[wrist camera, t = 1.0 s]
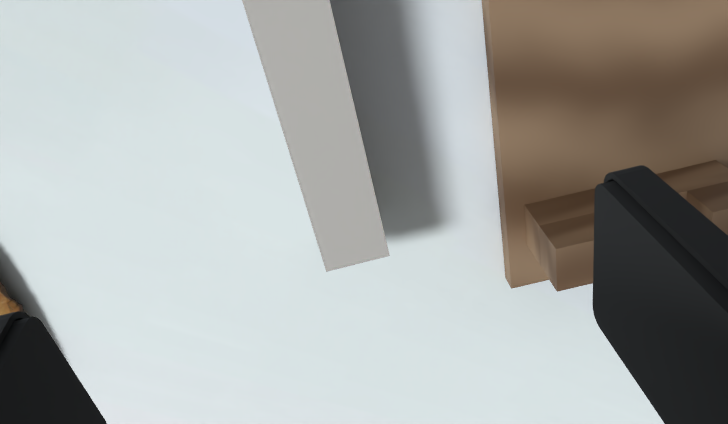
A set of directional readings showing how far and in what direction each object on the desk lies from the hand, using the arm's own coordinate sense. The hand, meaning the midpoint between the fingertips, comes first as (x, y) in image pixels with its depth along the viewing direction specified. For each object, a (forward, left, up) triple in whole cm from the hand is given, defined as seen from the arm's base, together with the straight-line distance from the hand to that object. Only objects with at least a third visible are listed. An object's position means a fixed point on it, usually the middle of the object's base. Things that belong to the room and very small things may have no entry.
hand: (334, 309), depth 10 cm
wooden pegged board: (+5, +14, -18) cm, 23 cm away
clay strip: (0, 0, -19) cm, 19 cm away
